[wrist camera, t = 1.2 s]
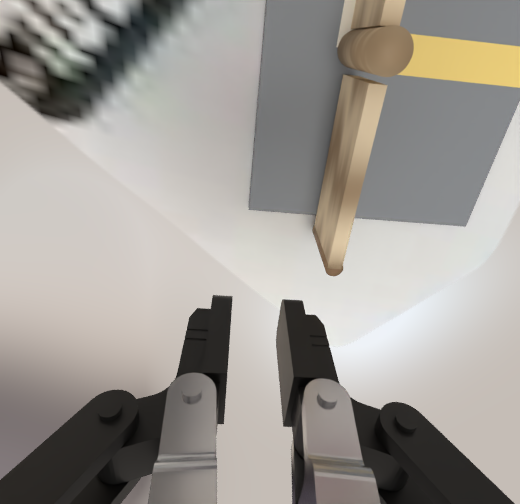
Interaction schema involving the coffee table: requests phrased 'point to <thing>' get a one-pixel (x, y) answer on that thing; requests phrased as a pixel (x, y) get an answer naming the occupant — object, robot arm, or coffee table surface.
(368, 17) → the wooden toy fence
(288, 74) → the card
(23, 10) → the coffee table surface
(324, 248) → the fence panel
